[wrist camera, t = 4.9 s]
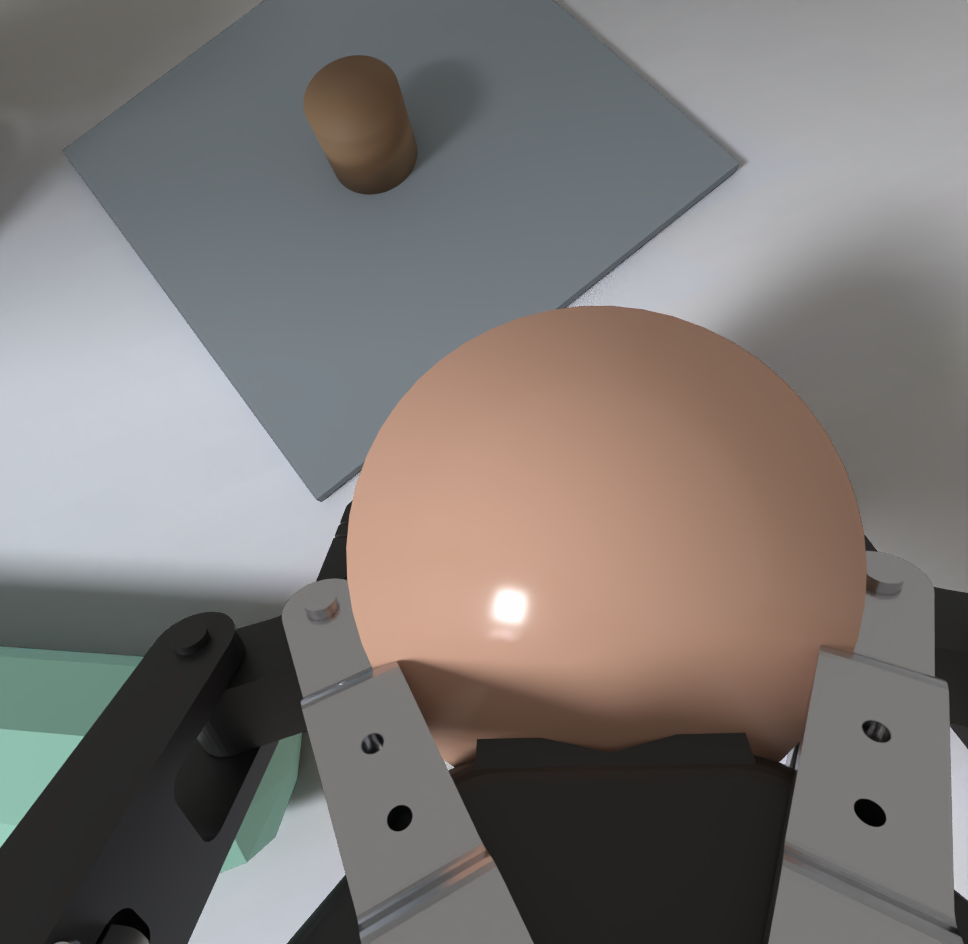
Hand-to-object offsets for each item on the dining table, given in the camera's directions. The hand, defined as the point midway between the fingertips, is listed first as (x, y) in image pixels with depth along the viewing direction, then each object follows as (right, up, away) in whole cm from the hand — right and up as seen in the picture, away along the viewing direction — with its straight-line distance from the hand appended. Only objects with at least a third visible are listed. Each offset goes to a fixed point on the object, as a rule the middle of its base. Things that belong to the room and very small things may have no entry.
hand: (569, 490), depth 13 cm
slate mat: (-6, +11, +8) cm, 15 cm away
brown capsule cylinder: (-6, +11, +8) cm, 15 cm away
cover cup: (+1, -3, +4) cm, 5 cm away
